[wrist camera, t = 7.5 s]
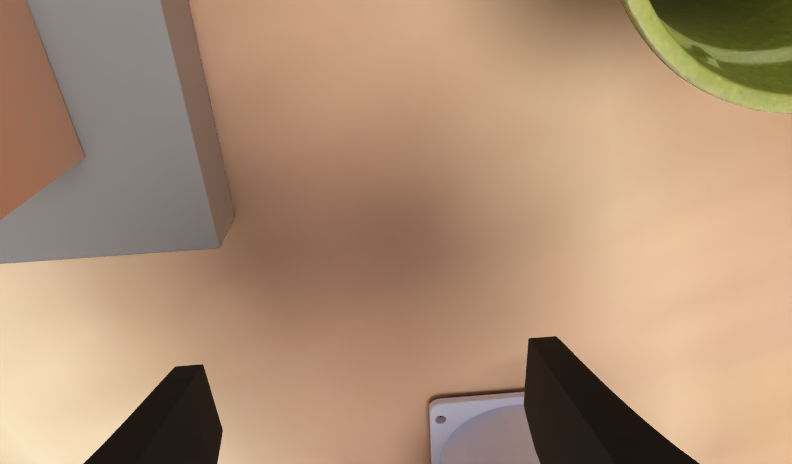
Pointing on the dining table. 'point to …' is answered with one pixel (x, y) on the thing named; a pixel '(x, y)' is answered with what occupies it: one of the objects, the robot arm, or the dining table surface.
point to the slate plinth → (126, 137)
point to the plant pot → (723, 46)
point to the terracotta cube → (29, 112)
